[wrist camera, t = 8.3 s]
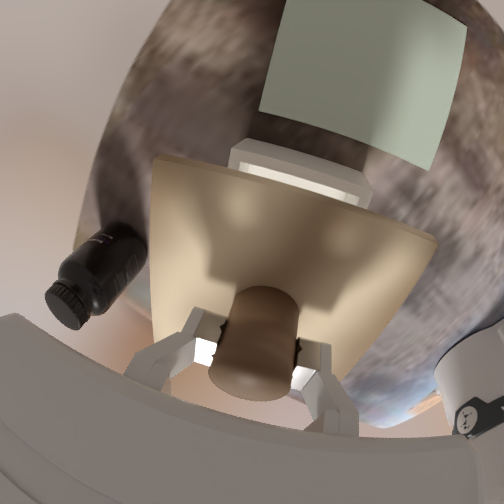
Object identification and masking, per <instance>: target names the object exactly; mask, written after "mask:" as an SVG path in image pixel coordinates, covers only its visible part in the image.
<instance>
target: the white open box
mask: <svg viewBox="0 0 504 504" xmlns="http://www.w3.org/2000/svg"><path fill="white" fill-rule="evenodd" d="M228 168H230V169H234V170H238V171H242V172H246V173H250V174H254V175H257V176H261V177H265V178H269V179H272V180H276V181H279V182H283V183H286V184H290V185H293V186H296V187H300V188H303V189H306V190H310V191H313V192H316V193H319V194H322V195H325V196H328V197H332V198H335V199H338V200H341V201H344V202H346V203H349V204H352V205H355V206H358V207H361V208H364V209H366V210H367V208H368V205H369V203H370V200H371V198H372V195H373V193H374V190H373V188H372V186H371V185H370V183H369V182H368V180H367V179H366V177H365V175H364V174H363V172H360V171H357V170H355V169H352V168H349V167H346V166H343V165H340V164H337V163H334V162H331V161H328V160H325V159H322V158H319V157H316V156H312V155H309V154H306V153H303V152H299V151H296V150H292V149H289V148H285V147H281V146H278V145H274V144H270V143H266V142H262V141H258V140H254V139H250V138H246V139H244V140H243V141H241V142H240V143H238V144H237V145H235V146H234V147H232V148H231V153H230V158H229V163H228Z"/></svg>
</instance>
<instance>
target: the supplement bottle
mask: <svg viewBox="0 0 504 504" xmlns="http://www.w3.org/2000/svg"><path fill="white" fill-rule="evenodd" d="M145 262H146V249H145V246H144V243H143V241H142V239H141V238H140V236H139V235H138V234H137V233H136V232H135V231H134V230H133V229H132V228H131V227H129V226H127V225H125V224H123V223H119V222H113V223H109V224H107V225H106V226H104V227H103V228H102V229H100V230H99V231H98V232H97V233H95V234H94V235H93V236H92V237H91V238H89V239H88V240H87V241H86V242H85V243H83V244H82V245H81V246H80V247H79V248H78V249H76V250H75V251H74V252H73V253H72V254H71V255H70V256H68V257H67V258H66V259H65V260H64V261H63V262H62V263H61V265H60V268H59V272H58V280H56V281H55V282H54V283H53V285H52V286H51V287H50V288H49V289H48V290H47V291H46V293H45V300H46V303H47V305H48V307H49V309H50V310H51V312H52V313H53V314H54V316H55V317H56V318H57V319H58V320H59V321H60V322H61V323H62V324H64V325H65V326H66V327H68V328H70V329H72V330H79V329H80V328H81V327H82V326H83V324H84V323H85V322H87V321H88V320H89V318H90V316H98V315H101V314H104V313H105V312H106V311H107V310H108V309H109V308H110V307H111V306H112V304H113V303H114V302H115V301H116V299H117V298H118V297H119V296H120V295H121V293H122V292H123V291H124V290H125V288H126V287H127V286H128V285H129V284H130V282H131V281H132V280H133V279H134V278H135V277H136V275H137V274H138V273H139V272H140V271H141V269H142V268H143V267H144V265H145Z"/></svg>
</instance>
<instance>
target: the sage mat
mask: <svg viewBox="0 0 504 504" xmlns="http://www.w3.org/2000/svg"><path fill="white" fill-rule="evenodd" d="M466 32H467V27H466V26H465V25H463V24H462V23H460V22H459V21H457V20H456V19H454V18H453V17H451V16H449V15H448V14H446V13H444V12H443V11H441V10H439V9H437V8H436V7H434V6H432V5H430V4H428V3H426V2H424V1H422V0H287V1H286V5H285V8H284V12H283V16H282V19H281V23H280V27H279V31H278V34H277V38H276V42H275V46H274V50H273V54H272V58H271V62H270V65H269V69H268V74H267V78H266V82H265V86H264V90H263V94H262V98H261V102H260V106H259V111H261V112H265V113H269V114H273V115H277V116H281V117H285V118H289V119H293V120H296V121H300V122H303V123H307V124H310V125H313V126H317V127H320V128H323V129H326V130H329V131H332V132H335V133H338V134H341V135H344V136H347V137H349V138H352V139H355V140H358V141H360V142H363V143H366V144H368V145H371V146H373V147H376V148H378V149H381V150H383V151H386V152H388V153H390V154H393V155H395V156H397V157H399V158H402V159H404V160H406V161H408V162H410V163H413V164H415V165H417V166H419V167H421V168H423V169H425V170H427V171H429V169H430V167H431V164H432V162H433V159H434V156H435V154H436V151H437V148H438V145H439V142H440V139H441V136H442V133H443V130H444V127H445V124H446V121H447V118H448V114H449V111H450V107H451V104H452V100H453V96H454V93H455V89H456V85H457V80H458V76H459V72H460V67H461V62H462V57H463V51H464V45H465V39H466Z"/></svg>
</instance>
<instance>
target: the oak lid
mask: <svg viewBox="0 0 504 504" xmlns="http://www.w3.org/2000/svg"><path fill="white" fill-rule="evenodd" d="M438 245H439V244H438V243H437V241H436V240H435V238H434V237H433V235H431V234H428V233H426V232H423V231H421V230H419V229H416V228H414V227H411V226H409V225H406V224H404V223H401V222H399V221H396V220H393V219H391V218H388V217H386V216H383V215H380V214H377V213H375V212H372V211H369V210H366V209H364V208H361V207H358V206H355V205H352V204H349V203H346V202H344V201H341V200H338V199H335V198H332V197H328V196H325V195H322V194H319V193H316V192H313V191H310V190H306V189H303V188H300V187H296V186H293V185H290V184H286V183H283V182H279V181H276V180H272V179H269V178H265V177H261V176H257V175H254V174H250V173H246V172H242V171H238V170H234V169H230V168H226V167H222V166H218V165H213V164H209V163H205V162H200V161H196V160H191V159H186V158H182V157H177V156H172V155H167V154H161V155H159V156H157V157H155V158H153V169H152V184H151V203H150V287H151V307H152V322H153V334H154V343H156V342H158V341H160V340H162V339H164V338H166V337H168V336H170V335H172V334H174V333H176V332H177V331H178V332H181V331H182V329H183V327H184V325H185V323H186V321H187V319H188V317H189V315H190V313H191V311H192V309H193V308H194V307H195V306H197V307H199V308H202V309H205V310H208V311H211V312H214V313H217V314H220V315H223V316H226V317H227V321H226V324H225V327H224V330H223V332H222V334H221V337H220V341H219V343H218V346H217V349H216V352H215V354H214V356H213V359H212V362H211V365H210V367H209V370H208V374H209V377H210V379H211V381H212V382H213V383H214V384H215V385H216V386H217V387H218V388H219V389H221V390H222V391H224V392H226V393H228V394H230V395H232V396H235V397H238V398H241V399H245V400H250V401H271V400H276V399H279V398H281V397H283V396H285V395H286V394H287V393H288V392H289V391H290V388H291V382H292V374H293V366H294V358H295V349H296V340H297V338H298V337H302V338H307V339H311V340H315V341H319V342H323V343H328V344H331V346H332V374H335V376H336V378H337V379H338V381H339V382H340V381H341V380H342V379H343V378H344V377H345V376H346V375H347V373H348V372H349V371H350V370H351V369H352V368H353V367H354V365H355V364H356V363H357V362H358V361H359V360H360V358H361V357H362V356H363V355H364V354H365V352H366V351H367V350H368V349H369V348H370V346H371V345H372V344H373V343H374V341H375V340H376V339H377V337H378V336H379V335H380V334H381V332H382V331H383V330H384V328H385V327H386V326H387V324H388V323H389V322H390V320H391V319H392V318H393V316H394V315H395V313H396V312H397V311H398V309H399V308H400V306H401V305H402V303H403V302H404V300H405V299H406V298H407V296H408V295H409V293H410V292H411V290H412V288H413V287H414V285H415V284H416V282H417V281H418V279H419V278H420V276H421V274H422V273H423V271H424V269H425V268H426V266H427V264H428V263H429V261H430V259H431V258H432V256H433V254H434V252H435V251H436V249H437V247H438Z"/></svg>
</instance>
